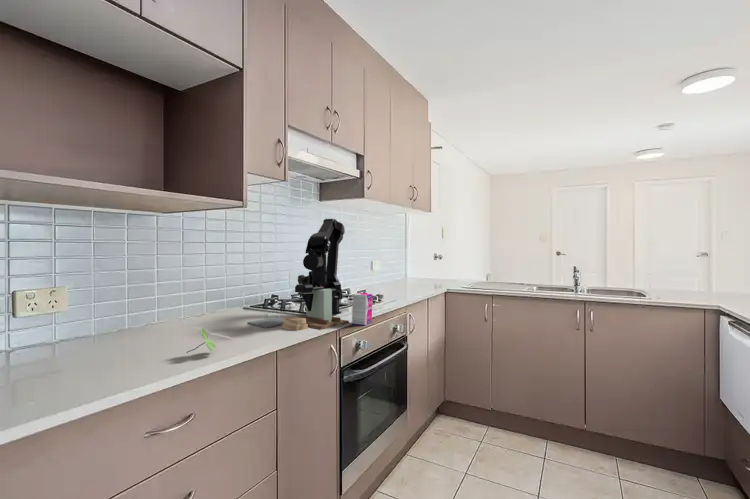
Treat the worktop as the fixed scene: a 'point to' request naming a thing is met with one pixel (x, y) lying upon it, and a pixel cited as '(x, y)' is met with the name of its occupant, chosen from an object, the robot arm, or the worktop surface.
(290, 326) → the offcut lower
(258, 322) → the mat
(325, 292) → the sage green block
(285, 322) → the offcut upper
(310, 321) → the rack
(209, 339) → the seedling
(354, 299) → the supplement box
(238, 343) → the worktop surface
